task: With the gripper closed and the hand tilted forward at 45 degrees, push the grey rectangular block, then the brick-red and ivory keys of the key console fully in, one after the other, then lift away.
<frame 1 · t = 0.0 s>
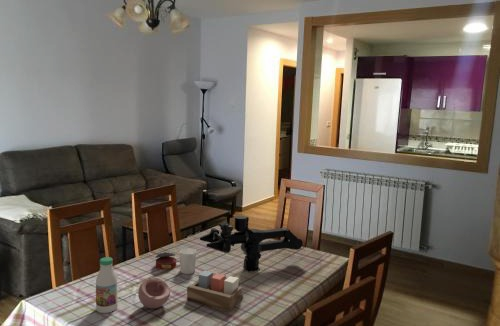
hand: (203, 242, 184), 17 cm above the table, tool horizontal, fingers open, 9 cm apart
white key: (231, 288, 163), point 5 cm above the table, slide at 0.0 cm
milk bottle: (106, 309, 154), on the table
white cup: (187, 271, 192), on the table
grey rectangular block: (205, 281, 168), point 5 cm above the table, slide at 0.0 cm
mortar and pestle: (154, 307, 157), on the table
canned food: (165, 266, 197), on the table
red key: (218, 284, 166), point 5 cm above the table, slide at 0.0 cm
key console: (216, 298, 166), on the table
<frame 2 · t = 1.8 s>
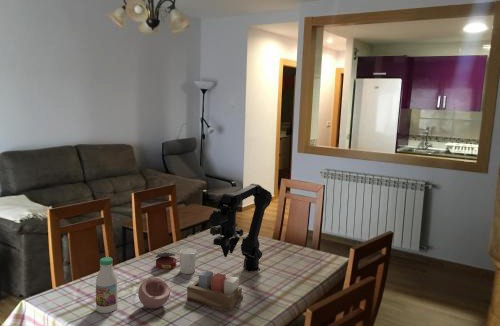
hand: (228, 254, 182), 12 cm above the table, tool pointing down, fingers open, 5 cm apart
nothing on the table moved.
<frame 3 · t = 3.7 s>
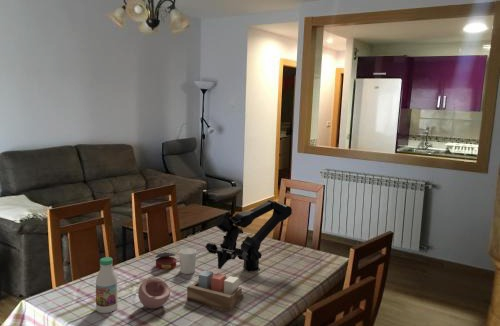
hand: (219, 268, 178), 7 cm above the table, tool tilted 45°, fingers closed
nothing on the table moved.
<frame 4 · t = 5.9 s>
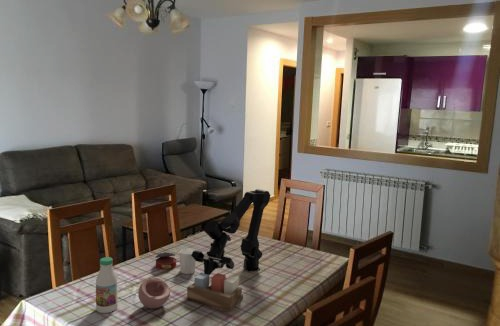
hand: (205, 278, 168), 7 cm above the table, tool tilted 45°, fingers closed
grey rectangular block: (201, 284, 165), point 5 cm above the table, slide at 3.1 cm
everything else where it was.
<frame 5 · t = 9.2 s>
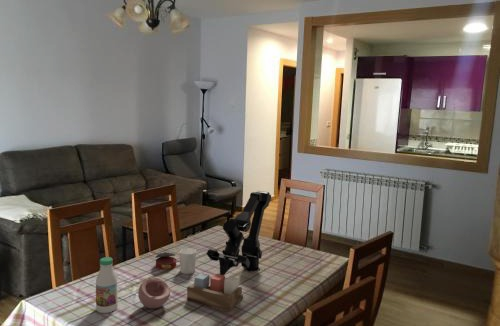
hand: (221, 276, 168), 8 cm above the table, tool tilted 45°, fingers closed, pressing on red key
red key: (217, 285, 165), point 5 cm above the table, slide at 0.6 cm, touching gripper
everything else where it was.
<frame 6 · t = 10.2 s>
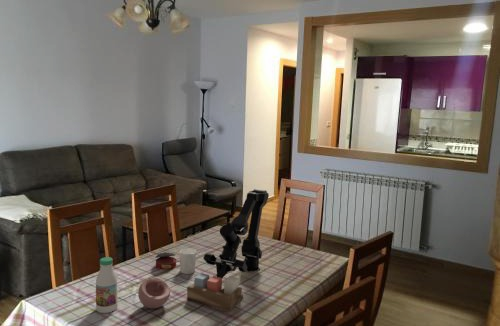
hand: (218, 281, 165), 7 cm above the table, tool tilted 45°, fingers closed
red key: (214, 287, 163), point 5 cm above the table, slide at 3.2 cm
everything else where it was.
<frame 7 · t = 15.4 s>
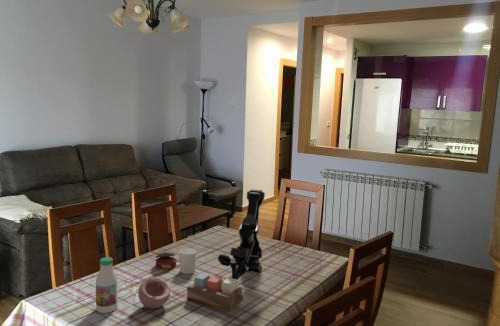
hand: (233, 282, 164), 7 cm above the table, tool tilted 45°, fingers closed, pressing on white key
white key: (229, 289, 162), point 5 cm above the table, slide at 1.5 cm, touching gripper
everything else where it was.
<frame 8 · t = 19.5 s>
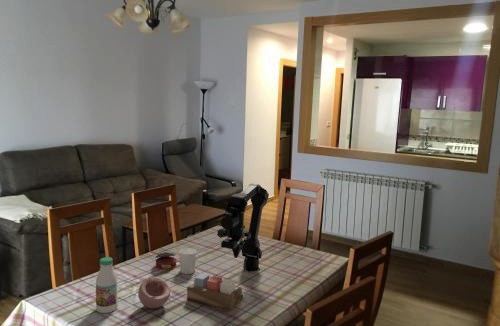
hand: (235, 257, 179), 12 cm above the table, tool pointing down, fingers closed
white key: (227, 291, 161), point 5 cm above the table, slide at 3.2 cm
everything else where it was.
at the end: grey rectangular block slide at 3.2 cm; red key slide at 3.2 cm; white key slide at 3.2 cm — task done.
